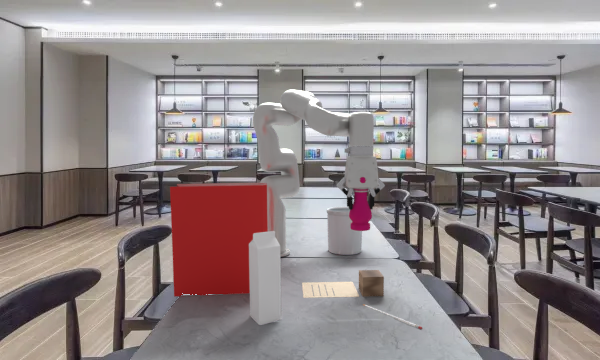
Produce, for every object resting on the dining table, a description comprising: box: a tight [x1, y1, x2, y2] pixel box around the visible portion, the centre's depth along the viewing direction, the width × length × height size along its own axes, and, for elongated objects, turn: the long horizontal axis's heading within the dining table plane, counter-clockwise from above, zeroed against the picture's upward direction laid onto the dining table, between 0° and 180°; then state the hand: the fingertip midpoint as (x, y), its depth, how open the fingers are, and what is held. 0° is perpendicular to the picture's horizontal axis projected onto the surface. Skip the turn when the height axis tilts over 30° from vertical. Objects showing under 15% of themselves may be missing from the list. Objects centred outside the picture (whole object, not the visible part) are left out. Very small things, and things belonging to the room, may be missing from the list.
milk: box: [249, 231, 282, 326], centre depth 94 cm, size 6×6×22 cm
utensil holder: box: [326, 206, 363, 256], centre depth 155 cm, size 15×15×18 cm
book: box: [169, 182, 268, 297], centre depth 113 cm, size 27×8×32 cm, turn 95°
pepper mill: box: [349, 177, 373, 232], centre depth 120 cm, size 7×7×20 cm
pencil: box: [362, 304, 423, 330], centre depth 95 cm, size 1×19×1 cm, turn 41°
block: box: [358, 269, 385, 298], centre depth 110 cm, size 6×6×6 cm
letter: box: [301, 281, 360, 299], centre depth 113 cm, size 16×12×1 cm
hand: (360, 208), depth 120 cm, fingers closed on pepper mill, 5 cm apart
